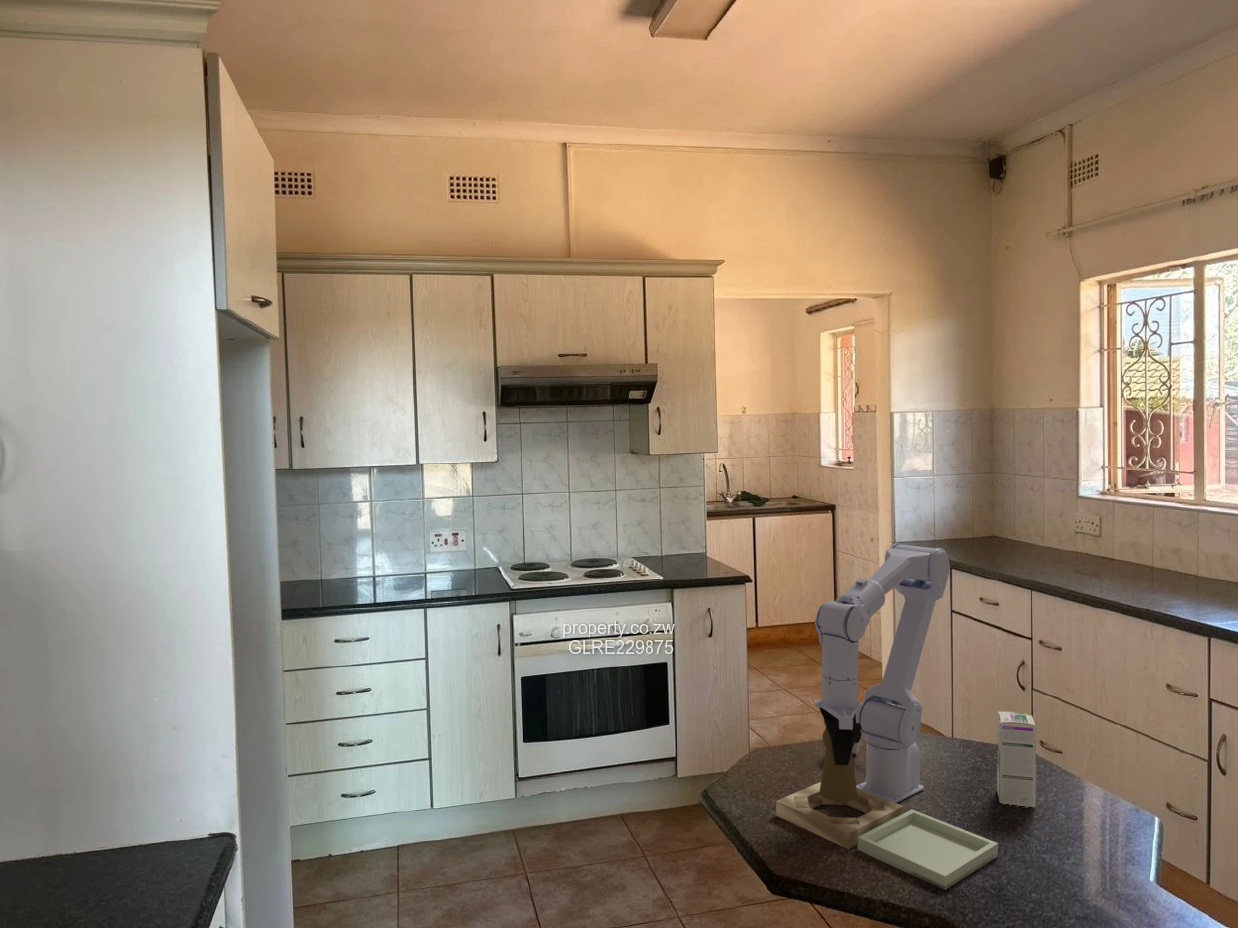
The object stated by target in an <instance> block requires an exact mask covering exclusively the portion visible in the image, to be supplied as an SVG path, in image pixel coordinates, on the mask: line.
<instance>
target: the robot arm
mask: <svg viewBox="0 0 1238 928" xmlns="http://www.w3.org/2000/svg"><path fill="white" fill-rule="evenodd" d="M950 572H951V565H950V560H949V556H948V553H947V551H945V549H944V548H941V547H939V548H938V547H936V548H935V547H934V548H932V547H926V546H918V545H917V546H916V545H909V544H902V543H898V542H895V543H893V544H892V545H890V546H889V548H887V549H886V551H885V555H884V562H883V563H882V565H881V566H880V567H879V568H878V569H877V570H876V571H875V572H874V574H873V575H872V576H871V577H870V578H858V579H857V580H856V581H855V583H854V584H853V585H852V586H851V587H850V588H848V589H847V590H846V591H845V592H844V593H843V594H842V595H840V596H839V597H838V598H837V599H835V601H833V600H828V601H827V602H825V603H823V604H821V605H820V607H819V608H818V610H817V612H816V616H815V617H816V618H815V620H814V626H815V630H816V631H817V633H818V643H819V645H820V646H821V648H822V653H821V654H822V657H821V658H822V661H821V662H822V663H821V664H822V665H821V667H822V668H821V672H822V673H821V674H822V677H821V686H822V687H821V698H820V699H814V707H815V708H818V709H819V711H820V714H821V716H822V718H823V722H824V726H825V729H826V728H827V730H828V732H829V735H830V739H831V744H832V751H833V758H834V761H835V764H836V765H848V764H849V761H850V757H851V753H852V749H853V745H854V742H855V740H856V737H857V736H858V734H859V732H861V733H862V739H863V740H865V741H866V748H865V750H866V752H865V753H866V755H865V756H866V758H865V760H866V761H865V762H866V764H865V766H866V767H865V768H866V769H865V771H866V772H865V781H864V782H861V783H859V784H856V788H859V789H861V790H864V791H866V792H869V793H871V794H874V795H876V796H879V797H881V798H884V799H887V800H889V801H892V802H894V803H897V804H898V802H901V801H903V800H905V799H906V798H908V797H911V796H912V795H914V794H917V793H918V792H921V791H923V790H925V787H924V785H922V784H920V776H921V774H920V773H921V772H920V770H921V765H920V763H921V754H920V753H921V752H920V749H919V746H918V744H917V743H916V742H917V740H918V738H919V737H920V735H921V734H920V733H921V729H922V728H921V727H922V714H923V707H922V704H921V702H920V701H919V699H918V698H917V697H916V696H915V695H914V693H913V691H912V689H913V686H914V682H915V678H916V674H917V671H918V667H919V664H920V660H921V657H922V652H923V649H924V645H925V641H926V638H927V635H928V632H929V631H928V630H929V627H930V624H931V620H932V617H933V613H934V609H935V605H936V601H938V600H941V599H942V598H944V594H945V591H946V588H947V587H946V586H947V583H948V580H949V575H950ZM893 589H895V590H896V591H897V592H898V593H900V594H901V595H902V596H903V597H904V603H903V608H902V611H901V614H900V618H899V622H898V625H897V627H896V631H895V635H894V639H893V641H892V644H891V648H890V653H889V656H888V660H887V661H886V662H887V663H886V666H885V669H884V674H883V677H882V680H881V681H880V682H879V683H877V684H875V685H872V686H870V687H869V688H867V689H866V691H865V695H864V697H863V699H862V701H861V702H860V703H859V650H860V647H859V643H860V639H861V640H862V638H863V637H864V635H865V633H866V629H867V627H868V625H869V623H870V622H871V621H870V618H872V617H873V616H874V615H875V614H876V613H877V612H878V611H879V610H880V609H881V608H883V606H884V605H885V603H886V594H888V593H889V592H890V591H892V590H893ZM856 712H857V713H856ZM855 714H856V723H853V717H854V716H855Z"/></svg>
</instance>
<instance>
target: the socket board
mask: <svg viewBox="0 0 1238 928" xmlns="http://www.w3.org/2000/svg"><path fill="white" fill-rule="evenodd" d="M820 785H821V781H820V782H817V783H815V784H813V785H810V786H808V787H806V788H804V789H801V790H799V791H796V792H794V793H791V794H790V795H787V796H785V797H782V798H780V799H778V800H777V799H776V802H775V816H776V817H778V818H780V819H782V820H785V821H787V822H789V823H792V824H793V825H794V826H798V827H800V828H803V829H805V830H807V831H808V832H810V833H812V834H815V835H817V836H819V837H821V838H824V839H825V840H828V841H830V842H832V843H834V844H836V845H838V846H840V847H843V848H845V849H847V850H851V849H852V848H854V847H856V846H858V837H859V836H861V835H863V834H865V833H867V832H869V831H871V830H873V829H875V828H876V827H878V826H880V825H882V824H884V823H886V822H888V821H890V820H892V819H894V818H896V817H898V816H900V815H902V814H904V805H901V804H899V803H898V802H897V803H894V802H892V801H889V800H887V799H884V798H881V797H879V796H876V795H874V794H871V793H869V792H866V791H864V790H861V789H859V788H856V789H857V798H856V799H855V800H852V801H847V802H838V801H832V800H829V799H826V798H824V797H822V796H821V795H820ZM823 805H831V806H832V805H833V806H835V805H836V806H840V805H841V806H848V807H850V808H853V809H856V810H858V811H861V812H862V813H864V814H862V815H861V816H858V817H838V816H837V817H835V816H829V815H827V814H824V813H822V812H820V811H817V810H815V809H816V808H817V807H820V806H823Z"/></svg>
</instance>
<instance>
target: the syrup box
mask: <svg viewBox="0 0 1238 928" xmlns="http://www.w3.org/2000/svg"><path fill="white" fill-rule="evenodd" d="M1036 726H1037V725H1036V723H1035V721H1034V717H1033V715H1032V714H1030V713H1026V712H1019V711H997V727H996V728H997V732H996V734H997V735H996V736H997V737H996V738H997V740H996V741H997V742H996V743H997V745H996V746H997V748H996V750H997V751H996V753H997V754H996V761H997V762H996V793H997V797H998V801H999V803H1000V804H1001V803H1002V804H1001V805H1005V804H1009V805H1008V806H1011V805H1017V806H1016V807H1019V806H1025V807H1024V808H1028V807H1033V808H1032V809H1035V808H1036V794H1037V793H1036V792H1037V791H1036V790H1037V789H1036V787H1037V786H1036V785H1037V784H1036V783H1037V769H1036V768H1037V762H1036V761H1037V759H1036V758H1037V754H1036V753H1037V750H1036V749H1037V747H1036V745H1037V744H1036V743H1037V741H1036V740H1037V739H1036V732H1037V727H1036ZM1034 807H1035V808H1034Z"/></svg>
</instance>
